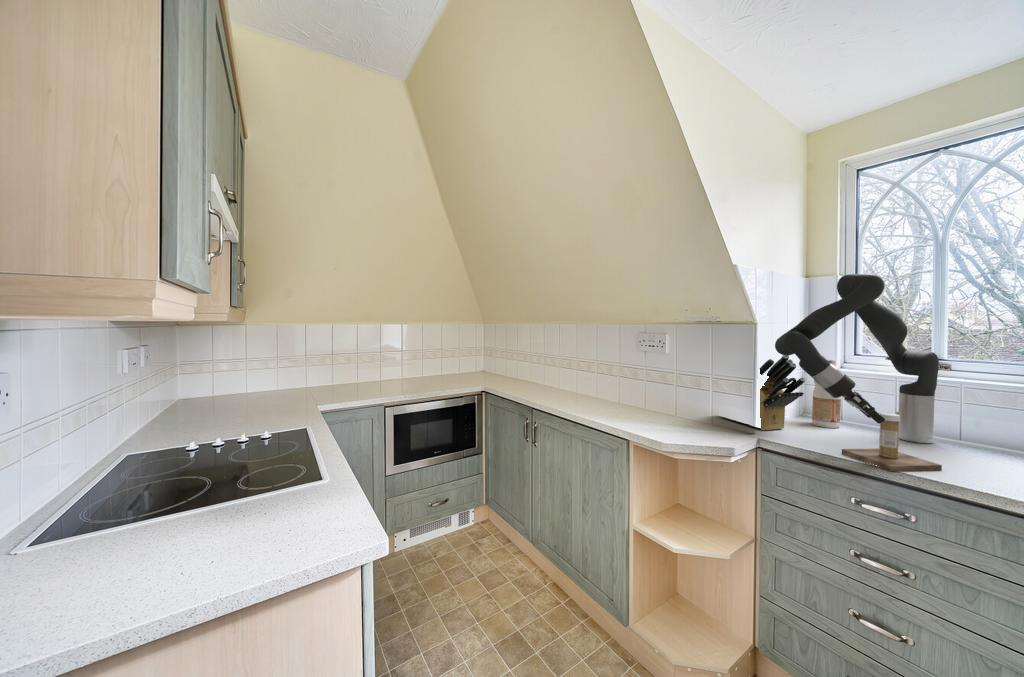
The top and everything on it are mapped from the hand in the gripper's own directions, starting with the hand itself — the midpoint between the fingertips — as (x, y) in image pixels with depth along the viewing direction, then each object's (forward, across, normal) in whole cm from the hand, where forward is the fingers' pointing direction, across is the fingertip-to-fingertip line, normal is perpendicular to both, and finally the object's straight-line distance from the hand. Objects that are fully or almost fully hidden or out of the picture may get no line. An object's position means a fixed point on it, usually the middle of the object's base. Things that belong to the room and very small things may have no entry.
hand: (876, 418), depth 125 cm
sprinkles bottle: (+10, 0, +6) cm, 12 cm away
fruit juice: (+7, +47, +12) cm, 49 cm away
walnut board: (+12, 0, +7) cm, 13 cm away
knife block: (-12, +32, +30) cm, 46 cm away
